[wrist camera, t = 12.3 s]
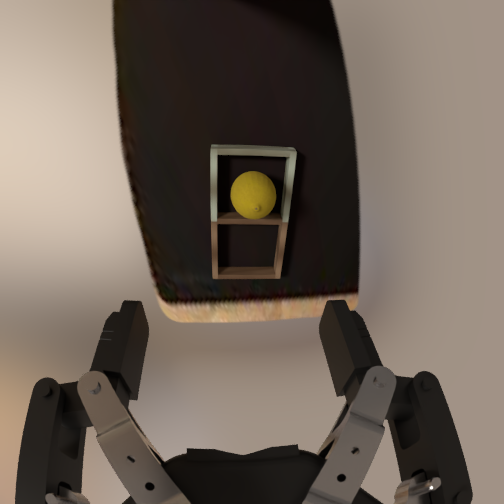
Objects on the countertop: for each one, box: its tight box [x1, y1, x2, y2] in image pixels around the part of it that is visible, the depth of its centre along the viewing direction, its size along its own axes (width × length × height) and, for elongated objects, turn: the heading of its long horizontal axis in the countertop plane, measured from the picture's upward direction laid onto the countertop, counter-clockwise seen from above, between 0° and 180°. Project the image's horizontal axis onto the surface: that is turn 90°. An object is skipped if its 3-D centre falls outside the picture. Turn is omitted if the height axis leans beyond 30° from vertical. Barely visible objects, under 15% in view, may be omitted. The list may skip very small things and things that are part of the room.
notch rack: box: [211, 145, 297, 279], centre depth 40 cm, size 20×11×2 cm, turn 177°
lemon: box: [231, 171, 276, 219], centre depth 35 cm, size 6×6×8 cm
